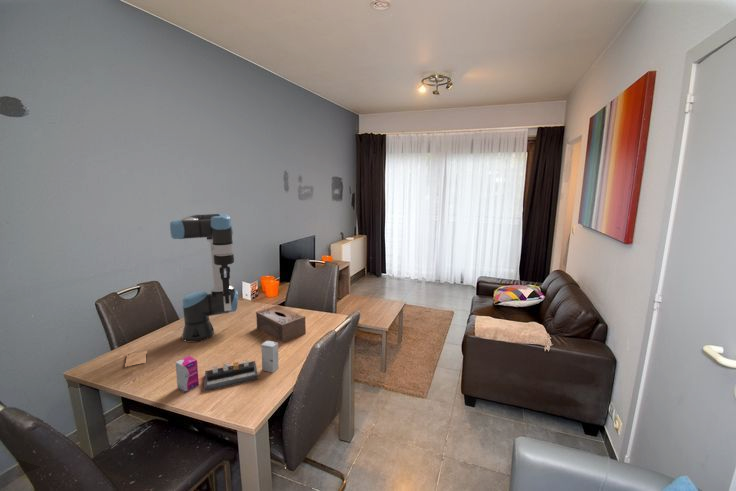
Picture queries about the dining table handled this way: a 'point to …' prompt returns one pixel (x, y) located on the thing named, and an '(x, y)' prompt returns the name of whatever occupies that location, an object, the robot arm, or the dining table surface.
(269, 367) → the skincare box
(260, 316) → the tissue box cover
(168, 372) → the dining table surface
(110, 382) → the dining table surface
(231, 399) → the dining table surface
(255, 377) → the breaker panel
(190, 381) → the supplement box
